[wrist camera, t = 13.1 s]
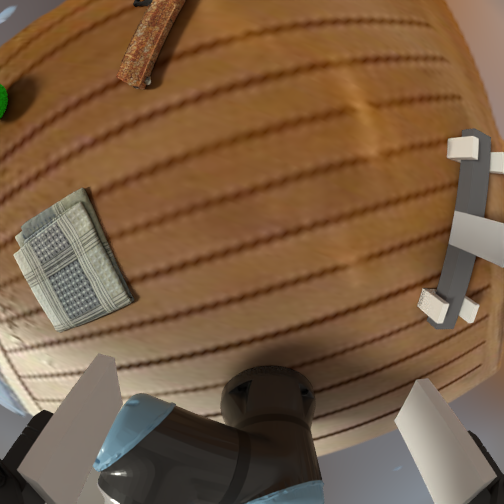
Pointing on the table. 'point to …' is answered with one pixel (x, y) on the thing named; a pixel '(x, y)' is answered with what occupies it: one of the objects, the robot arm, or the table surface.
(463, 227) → the bar
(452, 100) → the table surface
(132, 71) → the decorative handgun
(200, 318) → the table surface
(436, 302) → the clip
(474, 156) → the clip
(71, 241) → the dish towel
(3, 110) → the ornament
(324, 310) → the table surface
